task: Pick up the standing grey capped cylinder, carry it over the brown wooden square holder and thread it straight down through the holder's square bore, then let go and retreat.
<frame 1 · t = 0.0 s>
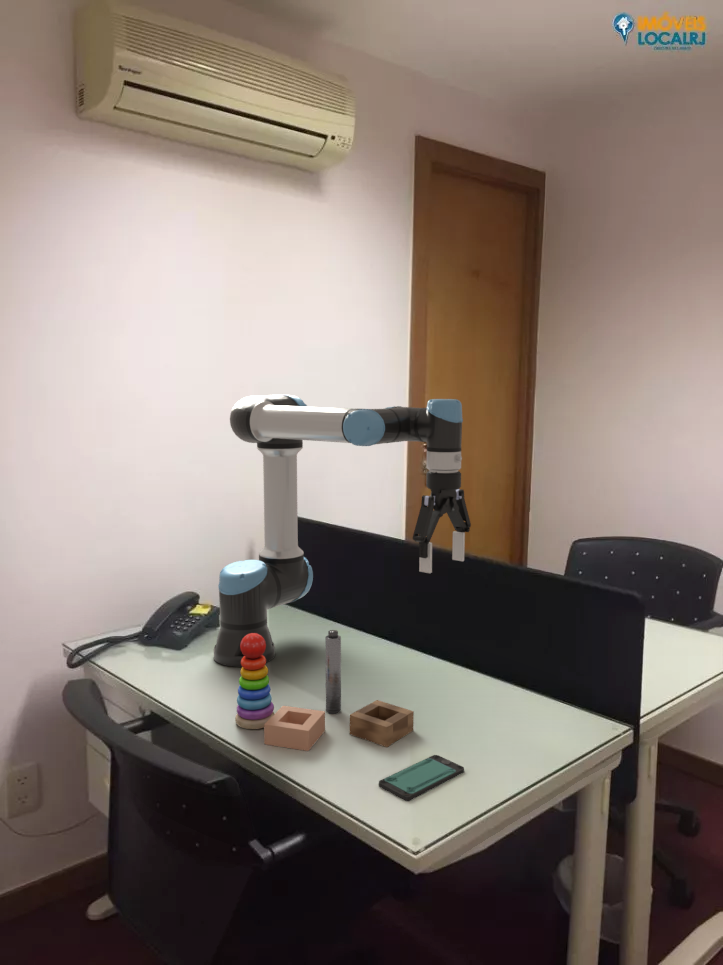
hand: (442, 566, 174), 28 cm above the table, fingers open, 13 cm apart
smartphone: (421, 781, 138), on the table
grey capped cylinder: (333, 710, 165), on the table
pink square socket block: (295, 737, 153), on the table
stacking toy: (255, 723, 160), on the table
brown wooden square holder: (381, 732, 155), on the table
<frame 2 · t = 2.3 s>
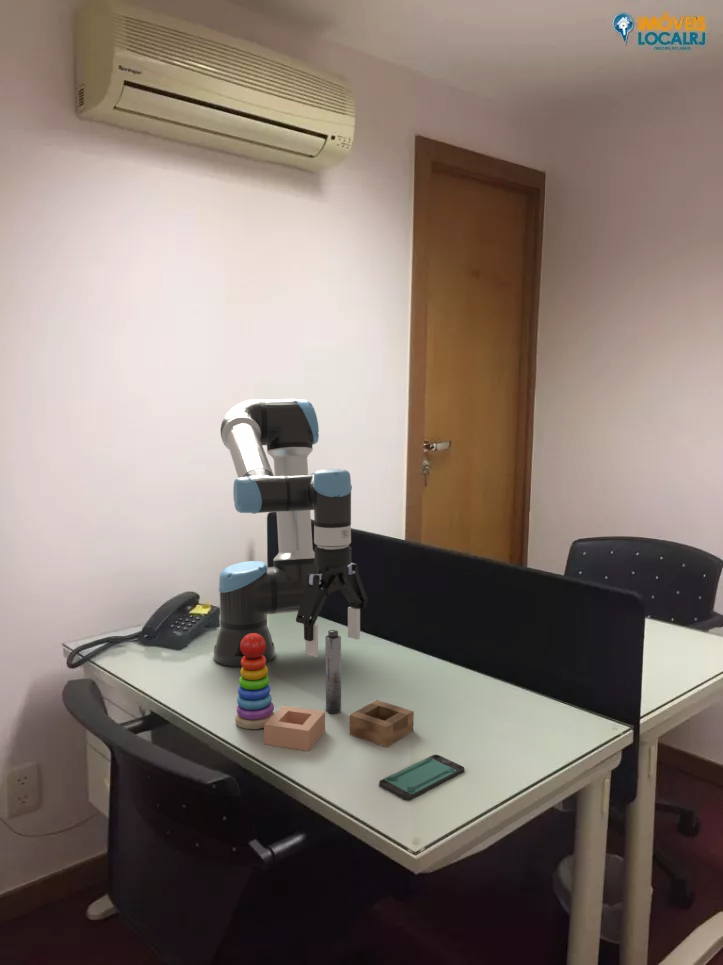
hand: (333, 646, 163), 14 cm above the table, fingers open, 13 cm apart
nothing on the table moved.
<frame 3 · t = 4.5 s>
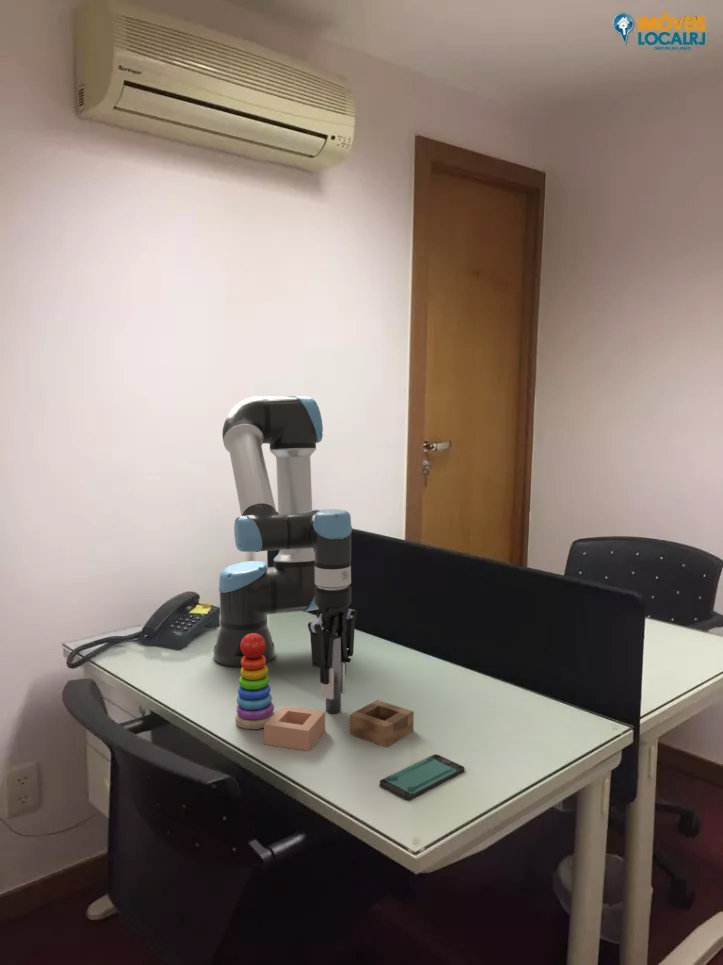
hand: (333, 694, 165), 4 cm above the table, fingers closed on grey capped cylinder, 3 cm apart
grey capped cylinder: (333, 710, 165), on the table, touching gripper
everything else where it was.
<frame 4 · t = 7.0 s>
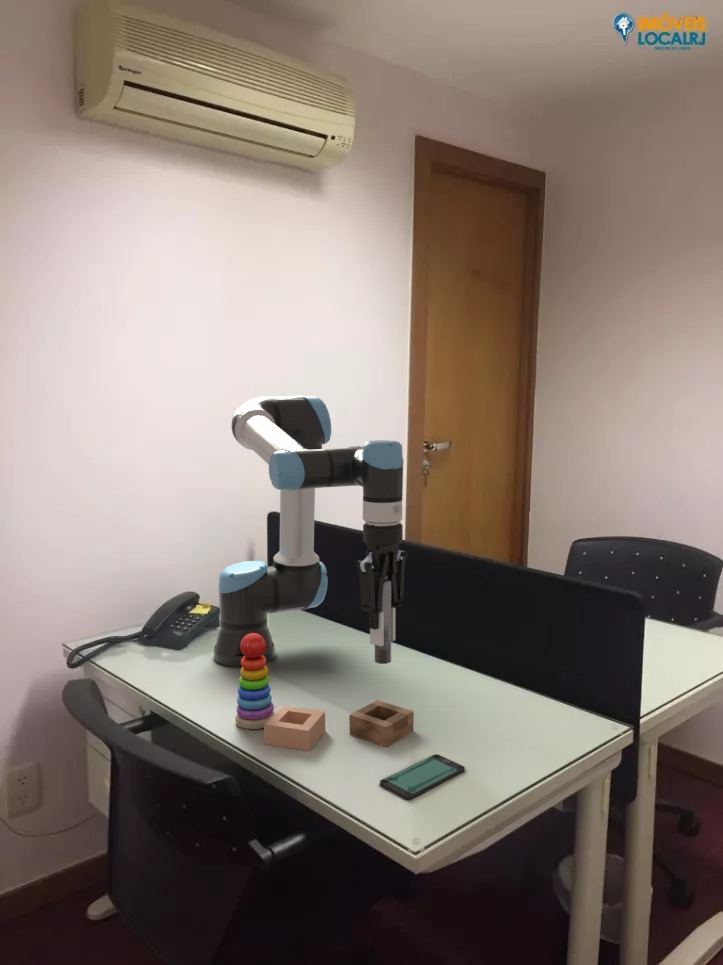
hand: (382, 641, 153), 19 cm above the table, fingers closed on grey capped cylinder, 3 cm apart
grey capped cylinder: (382, 660, 153), point 15 cm above the table, touching gripper
everything else where it was.
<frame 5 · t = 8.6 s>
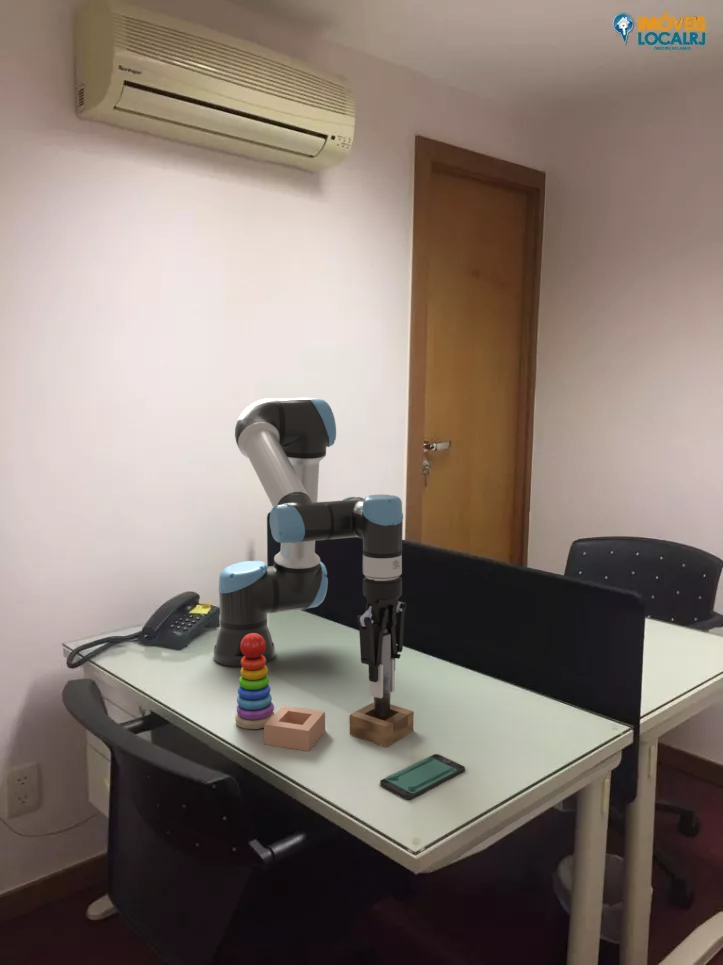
hand: (382, 692, 154), 8 cm above the table, fingers closed on grey capped cylinder, 3 cm apart
grey capped cylinder: (382, 712, 155), point 4 cm above the table, touching gripper
everything else where it was.
when the fingers open (6 cm above the table, at t = 9.8 s): grey capped cylinder drops 1 cm, resting in brown wooden square holder.
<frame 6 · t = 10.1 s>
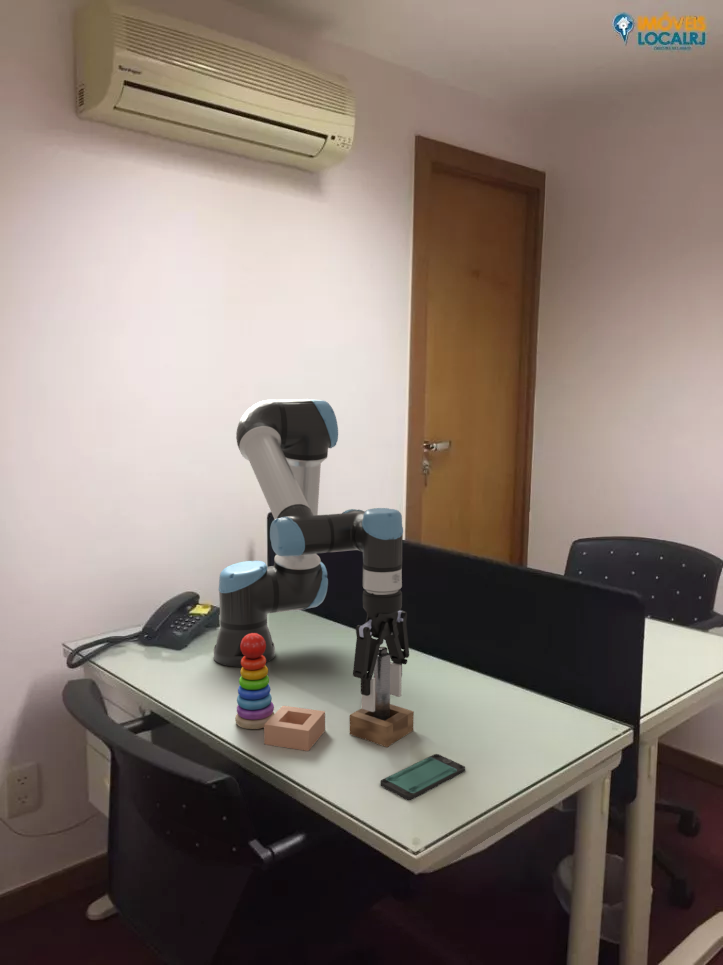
hand: (381, 702, 154), 6 cm above the table, fingers open, 8 cm apart
grey capped cylinder: (381, 732, 155), resting in brown wooden square holder
everything else where it was.
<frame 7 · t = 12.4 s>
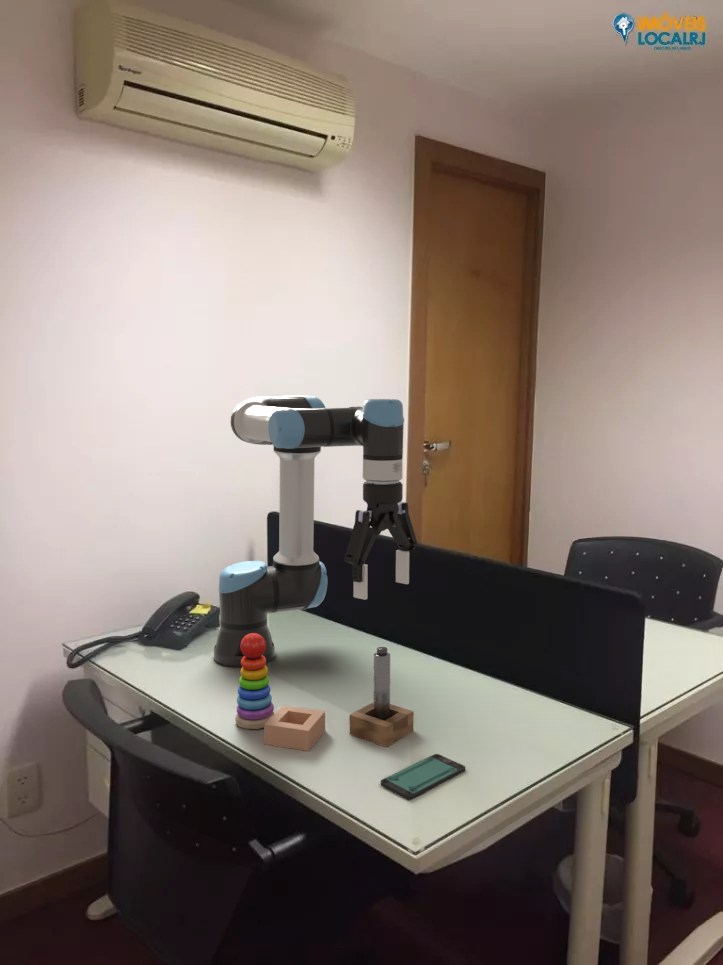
hand: (382, 590, 152), 29 cm above the table, fingers open, 13 cm apart
nothing on the table moved.
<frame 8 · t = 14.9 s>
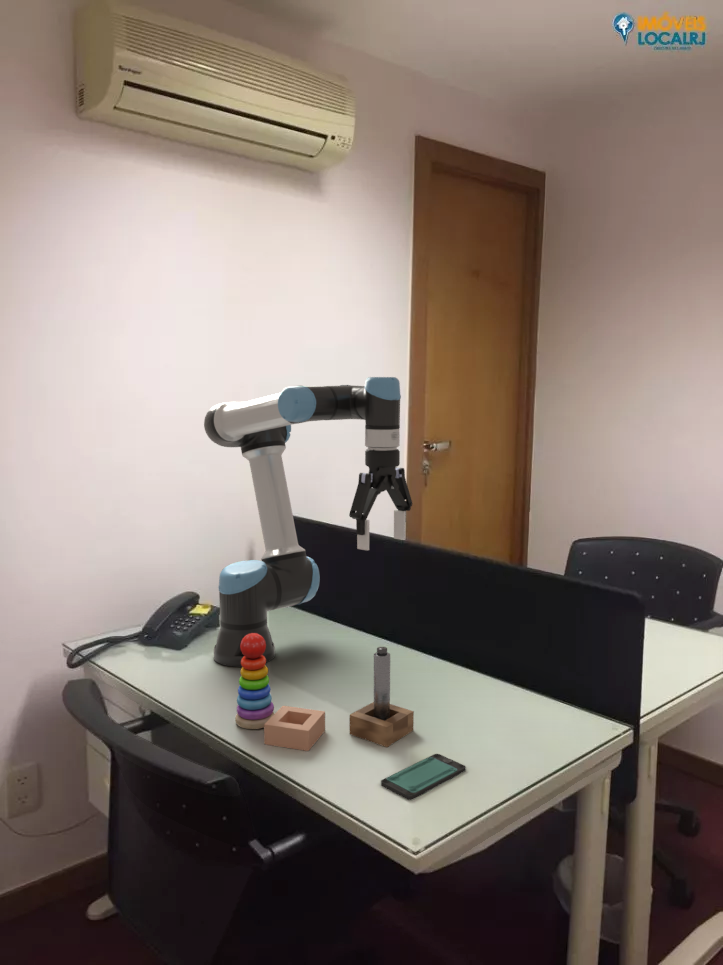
hand: (382, 544, 174), 33 cm above the table, fingers open, 13 cm apart
nothing on the table moved.
at the end: grey capped cylinder 0.0 cm off-centre on the brown wooden square holder, point 0.0 cm above the brown wooden square holder's base; grey capped cylinder tilted 0°; the gripper is holding nothing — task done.
